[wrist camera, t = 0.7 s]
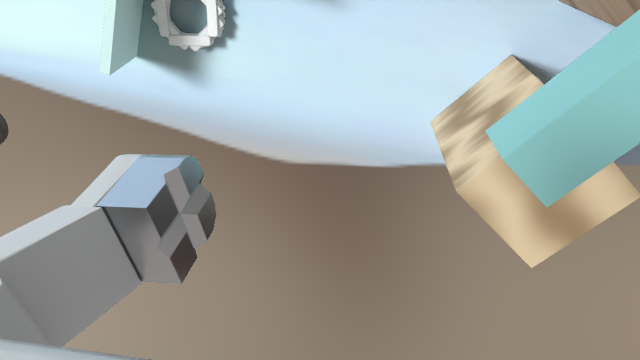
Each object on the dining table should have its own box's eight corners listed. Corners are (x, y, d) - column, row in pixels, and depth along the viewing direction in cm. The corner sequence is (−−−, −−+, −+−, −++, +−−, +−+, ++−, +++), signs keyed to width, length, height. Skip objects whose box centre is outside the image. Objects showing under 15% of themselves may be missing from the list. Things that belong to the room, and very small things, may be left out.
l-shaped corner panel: (130, 52, 54) (99, 72, 47) (143, -76, 48) (111, -73, 42) (246, 84, 55) (232, 108, 48) (272, -38, 49) (260, -30, 43)
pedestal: (489, 184, 58) (531, 268, 45) (430, 122, 55) (456, 191, 42) (570, 125, 54) (642, 196, 41) (511, 54, 51) (568, 106, 38)
